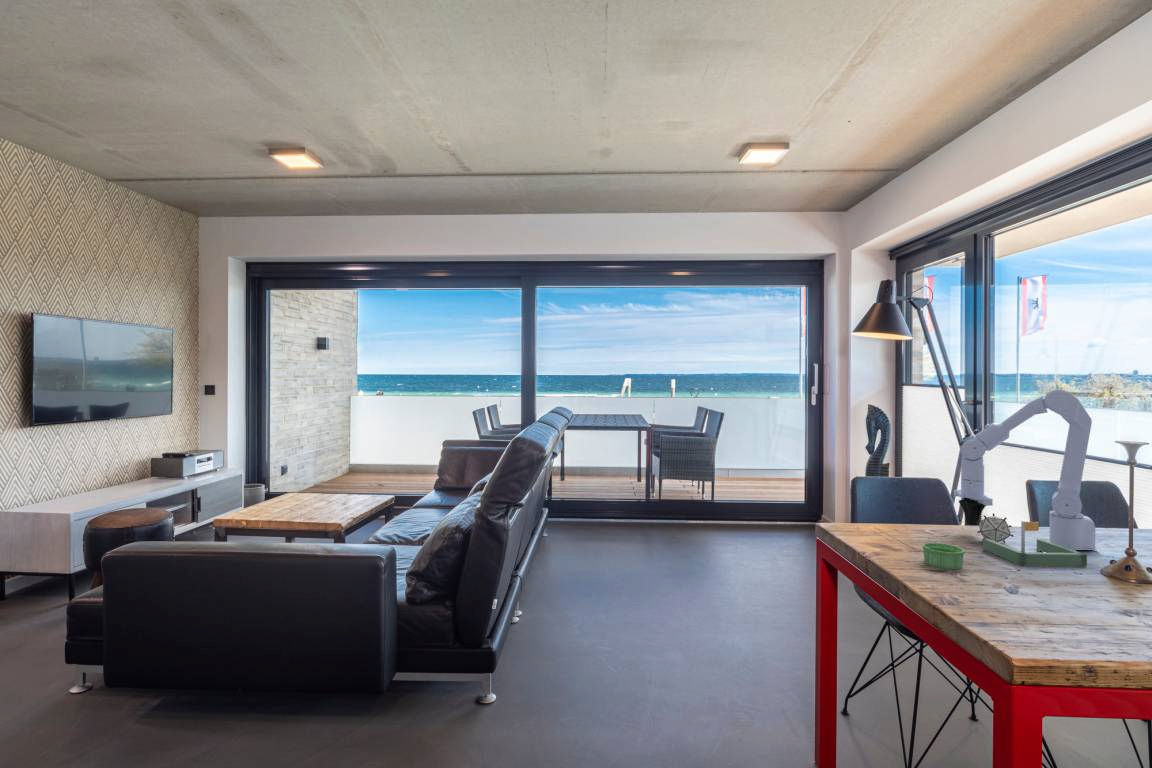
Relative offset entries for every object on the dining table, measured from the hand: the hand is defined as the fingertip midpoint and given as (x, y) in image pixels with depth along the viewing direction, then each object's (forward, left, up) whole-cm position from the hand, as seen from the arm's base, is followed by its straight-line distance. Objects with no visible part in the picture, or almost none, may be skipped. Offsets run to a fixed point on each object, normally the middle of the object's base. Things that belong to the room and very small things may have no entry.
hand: (972, 524), depth 174 cm
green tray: (0, +23, -3) cm, 24 cm away
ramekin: (+27, +29, -3) cm, 40 cm away
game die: (0, +9, -3) cm, 10 cm away
